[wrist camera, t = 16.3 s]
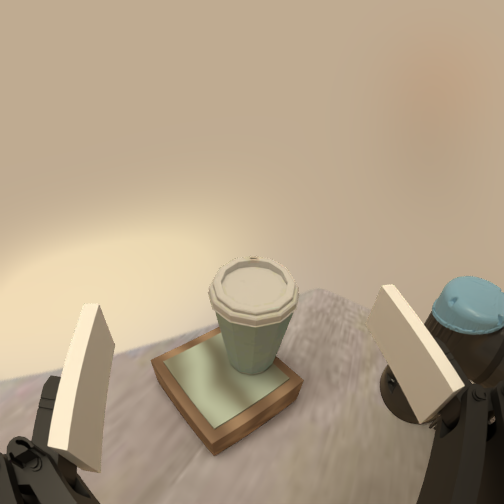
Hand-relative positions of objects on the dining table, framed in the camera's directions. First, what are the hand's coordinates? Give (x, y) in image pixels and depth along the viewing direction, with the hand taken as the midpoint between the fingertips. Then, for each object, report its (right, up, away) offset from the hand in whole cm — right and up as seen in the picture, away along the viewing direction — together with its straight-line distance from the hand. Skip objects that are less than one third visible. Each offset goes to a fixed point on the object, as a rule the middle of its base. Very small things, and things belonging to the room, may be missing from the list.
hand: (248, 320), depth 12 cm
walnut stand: (-4, -19, +29) cm, 35 cm away
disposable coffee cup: (0, -13, +28) cm, 31 cm away
